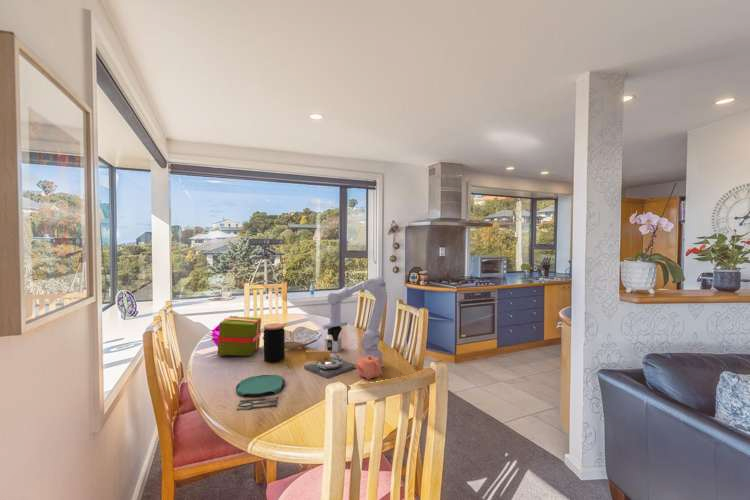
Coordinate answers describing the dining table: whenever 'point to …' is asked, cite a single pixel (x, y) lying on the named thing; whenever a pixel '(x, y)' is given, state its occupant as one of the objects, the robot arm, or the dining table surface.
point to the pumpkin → (369, 367)
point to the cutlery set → (259, 389)
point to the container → (332, 343)
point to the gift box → (237, 336)
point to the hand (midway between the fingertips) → (335, 340)
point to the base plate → (329, 372)
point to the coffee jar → (274, 342)
